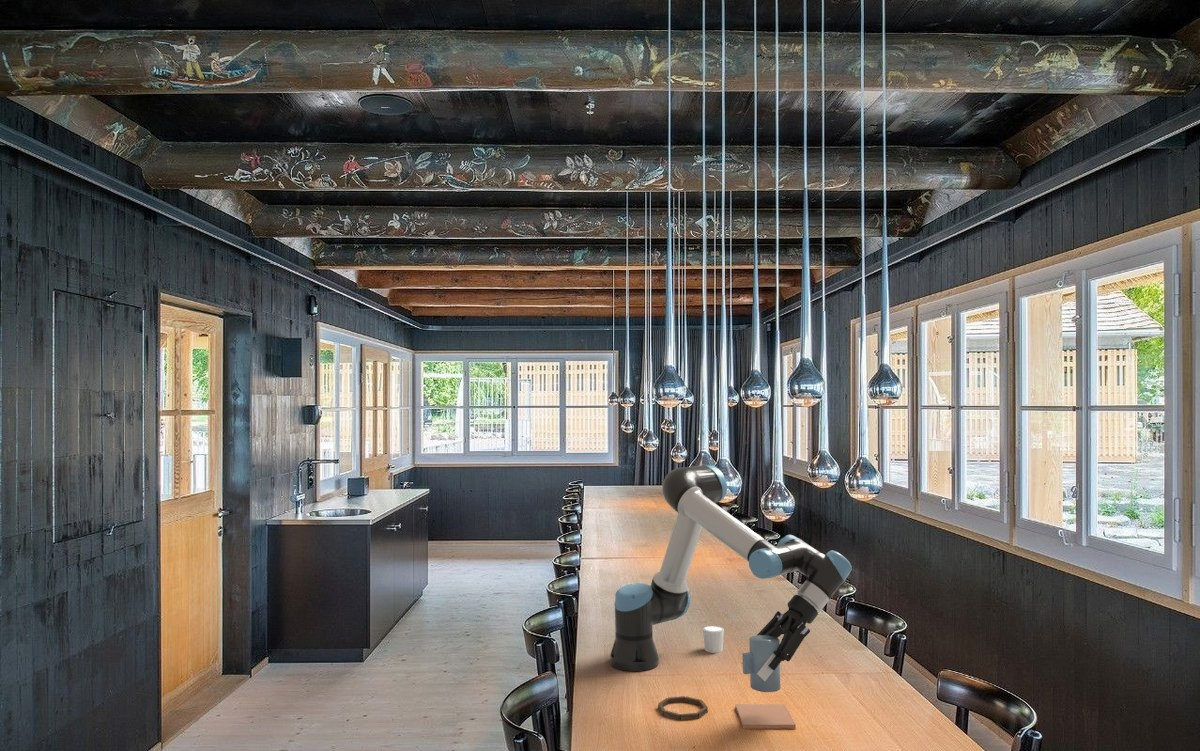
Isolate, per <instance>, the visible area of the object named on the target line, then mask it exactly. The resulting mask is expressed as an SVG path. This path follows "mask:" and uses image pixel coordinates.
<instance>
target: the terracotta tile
mask: <svg viewBox="0 0 1200 751" xmlns="http://www.w3.org/2000/svg"><path fill="white" fill-rule="evenodd" d="M734 708H735V710H736V713H737V715H738V718H739V721H740V724H741V726H742V729H749V730H752V729H755V730H756V729H760V730H763V729H765V730H767V729H768V730H770V729H771V730H772V729H774V730H776V729H777V730H779V729H781V730H782V729H783V730H785V729H786V730H787V729H788V730H791V729H794V730H796V729H797V728H796V727H797V726H796V725H797V724H796V723H795V721H794V718H793V717H792V715H791V714H790V711H789V710H788V708H787V706H786V705H785V703H735V706H734Z"/></svg>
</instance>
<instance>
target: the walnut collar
mask: <svg viewBox="0 0 1200 751" xmlns="http://www.w3.org/2000/svg"><path fill="white" fill-rule="evenodd" d="M671 703H672V704H675V703H676V704H677V703H689V704H692V705H696V706H697V705H698V706H699V707H700V708H701V709H699V710H698V711H697V712H691V713H689V712H688V713H677V712H675V711H674V712H673V711H669V710H666V709H665V708H664V707H665V706H667V705H669V704H671ZM657 709H658V711H659V712H660V714H661V715H662V716H663V717H666V718H670V719H675V720H678V721H686V720H687V721H688V720H698V719H700V718H702V717H703V716H705V715H706V714H707V713H708V711H709V710H708V706H707V705H706V703H705V702H704V701H703V700H702V699H699V698H696V697H690V696H684V695H681V696H673V697H671V696H670V697H666V698H664V699H663V700H661V701H660V702H658V703H657Z"/></svg>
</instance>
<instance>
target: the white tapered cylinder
mask: <svg viewBox="0 0 1200 751" xmlns="http://www.w3.org/2000/svg"><path fill="white" fill-rule="evenodd" d="M702 632H703V642H704V650H705V651H706V652H707V653H713V654H718V653H721V652H723V648H724V647H723V645H724V634H725V629H724V627H722V626H718V625H717V626H716V625H708V626H704V627H702ZM705 651H704V652H705Z"/></svg>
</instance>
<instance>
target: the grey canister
mask: <svg viewBox="0 0 1200 751" xmlns="http://www.w3.org/2000/svg"><path fill="white" fill-rule="evenodd" d="M780 642H781V639H780V638H779V637H778V638H776V637H773V636H768V635H757V634H756V635H753V636H750V637H749V642H748V643H749V651H748V652H742V662H743V664H742V674H744V675H749V677H750V678H749V682H750V683H749V684H750V685H749V687H750V688H751V689H752V690H754V691H756V692H761V693H775V692H778V691H780V690H781V663H780V664H779V665H778V666H777V668H776V669H775V670H774V671H773V672H772V673H771V675H770V676H769V677H768V678H767V680H766V681H764V680H763V679H762V678H761V677H760V676H759V675H757V673H758V671H759V670H760V669H761V668H762V666H763V665H764V664H765V662H766V661H767V660H768V659H769V657H770V656H771V655H772V654H774V651H777V649H778V647H779V645H780ZM774 655H775V654H774ZM775 656H776V655H775Z"/></svg>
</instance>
